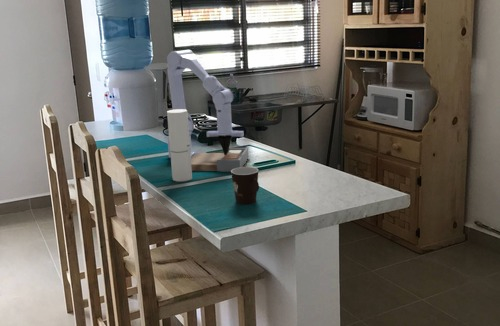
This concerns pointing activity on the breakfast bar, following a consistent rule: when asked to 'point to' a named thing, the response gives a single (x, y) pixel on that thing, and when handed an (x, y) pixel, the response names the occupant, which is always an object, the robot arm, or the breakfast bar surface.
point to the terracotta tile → (231, 157)
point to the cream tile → (234, 152)
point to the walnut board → (205, 161)
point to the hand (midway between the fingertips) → (226, 154)
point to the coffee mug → (245, 184)
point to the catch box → (232, 161)
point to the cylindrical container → (179, 144)
